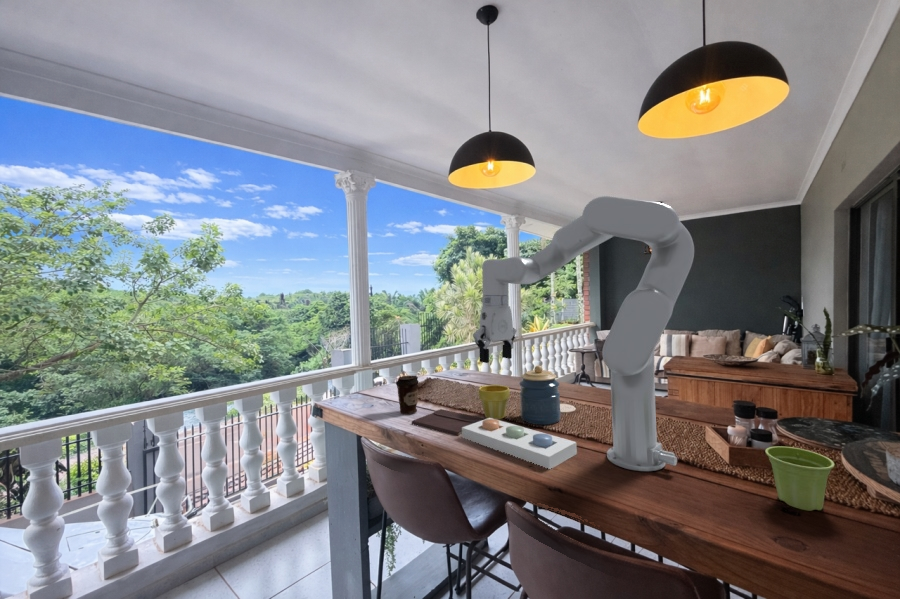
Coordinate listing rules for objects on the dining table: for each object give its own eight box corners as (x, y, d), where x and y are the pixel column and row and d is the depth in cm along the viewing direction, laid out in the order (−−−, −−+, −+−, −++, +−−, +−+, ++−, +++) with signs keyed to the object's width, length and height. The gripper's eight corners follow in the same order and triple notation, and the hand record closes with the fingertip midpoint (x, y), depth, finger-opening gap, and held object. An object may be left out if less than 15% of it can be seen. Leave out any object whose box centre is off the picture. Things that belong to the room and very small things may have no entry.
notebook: (457, 437, 112) (457, 431, 112) (411, 425, 124) (411, 419, 124) (486, 423, 123) (486, 417, 123) (441, 414, 136) (441, 408, 136)
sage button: (527, 439, 102) (527, 428, 102) (516, 444, 99) (516, 433, 99) (514, 435, 106) (513, 424, 106) (502, 440, 103) (502, 429, 103)
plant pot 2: (833, 499, 70) (831, 453, 70) (839, 524, 63) (836, 472, 63) (768, 485, 76) (766, 442, 76) (766, 505, 69) (764, 458, 69)
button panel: (576, 453, 95) (576, 442, 95) (549, 469, 87) (549, 456, 87) (490, 427, 118) (489, 417, 118) (462, 437, 110) (461, 427, 110)
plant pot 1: (500, 410, 135) (499, 383, 135) (516, 418, 126) (514, 389, 126) (474, 414, 131) (473, 387, 131) (489, 423, 122) (487, 393, 122)
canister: (513, 417, 127) (510, 365, 127) (543, 410, 132) (541, 360, 132) (537, 428, 115) (534, 371, 115) (569, 420, 121) (567, 366, 121)
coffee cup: (425, 410, 139) (423, 375, 139) (411, 417, 132) (409, 380, 132) (406, 408, 143) (405, 374, 143) (392, 414, 136) (390, 378, 136)
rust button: (502, 431, 109) (502, 421, 109) (491, 436, 106) (491, 425, 106) (490, 428, 113) (490, 418, 113) (479, 432, 110) (478, 422, 110)
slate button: (556, 448, 96) (555, 436, 96) (545, 454, 93) (544, 442, 93) (540, 443, 99) (540, 432, 99) (529, 448, 96) (529, 437, 96)
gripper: (483, 302, 101) (484, 366, 101) (524, 301, 112) (524, 358, 113) (465, 302, 107) (465, 362, 107) (505, 300, 118) (505, 355, 118)
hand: (495, 360), depth 110 cm, fingers open, 9 cm apart
